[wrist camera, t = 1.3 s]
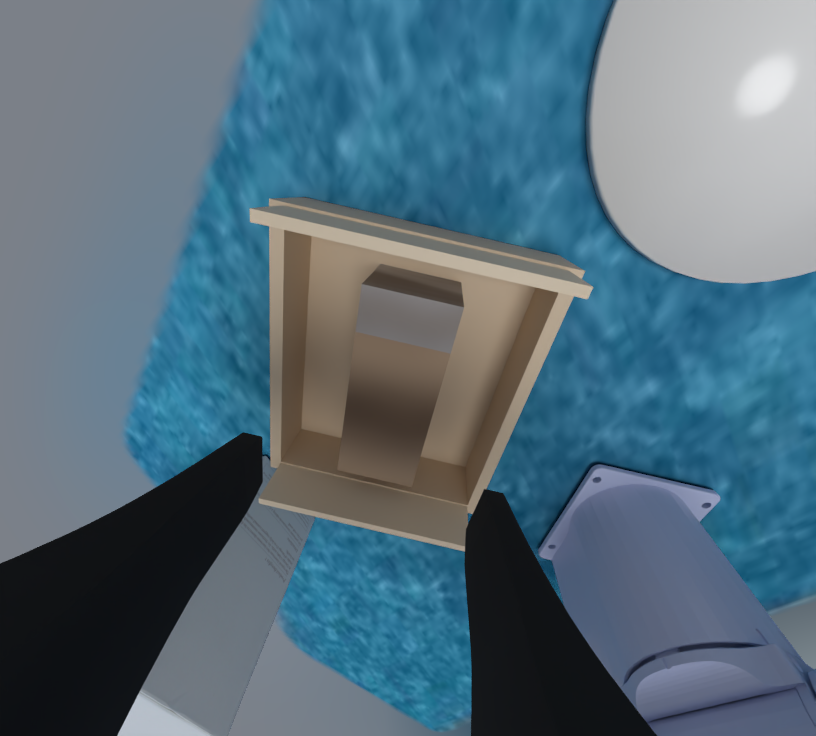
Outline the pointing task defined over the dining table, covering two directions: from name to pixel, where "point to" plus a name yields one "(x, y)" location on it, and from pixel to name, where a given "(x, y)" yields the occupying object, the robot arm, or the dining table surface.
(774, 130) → the plate
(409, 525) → the wooden tray
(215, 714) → the supplement box
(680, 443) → the dining table surface
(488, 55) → the dining table surface
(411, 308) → the brown rectangular block
